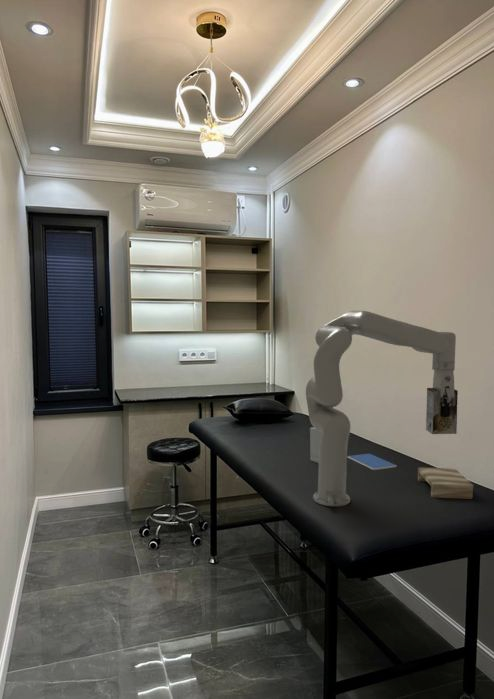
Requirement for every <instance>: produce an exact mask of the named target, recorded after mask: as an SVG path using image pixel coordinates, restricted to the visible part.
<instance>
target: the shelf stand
mask: <svg viewBox="0 0 494 699" xmlns="http://www.w3.org/2000/svg"><path fill="white" fill-rule="evenodd" d="M417 481H418V482H427V483H428V484H429V485H430V497H431V498H437V499H439V498H441V499H464V500H465V499H466V500H468V499H469V500H472V498H473V499H474V497H473V495H474V484H473V483H472V482H470V480H468V479H467V478H466V477H465V476H464V475H463V474H462V473H460V472H459V470H457V469H456V468H450V467H447V468H446V467H421V466H420V467H419V466H418V468H417Z"/></svg>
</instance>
